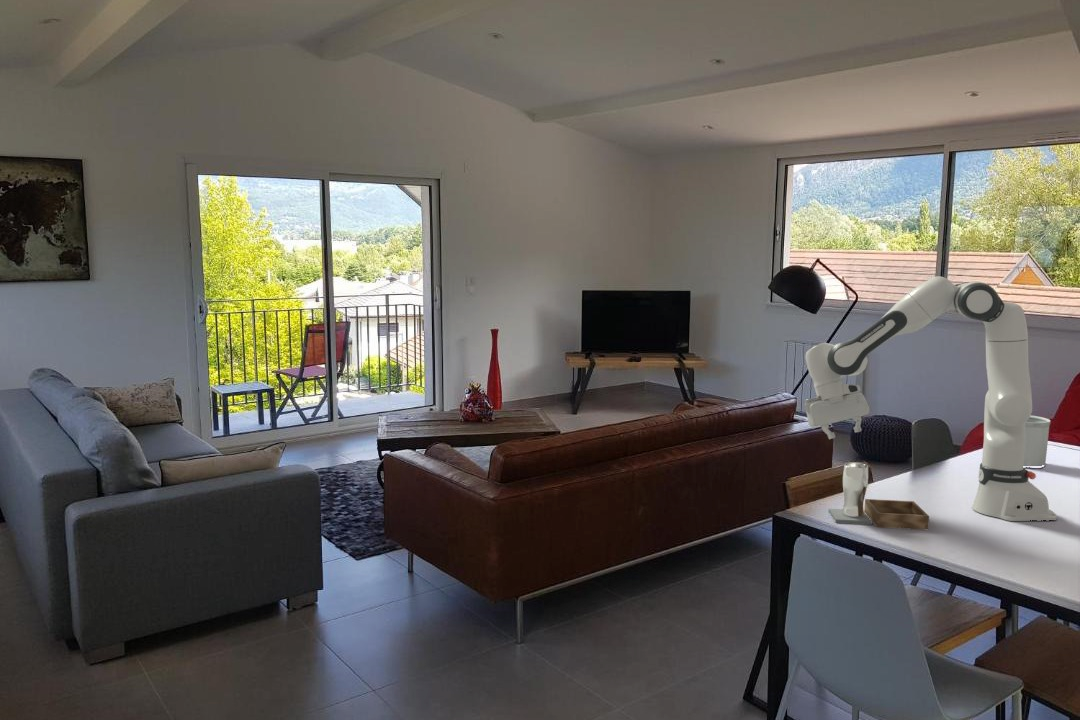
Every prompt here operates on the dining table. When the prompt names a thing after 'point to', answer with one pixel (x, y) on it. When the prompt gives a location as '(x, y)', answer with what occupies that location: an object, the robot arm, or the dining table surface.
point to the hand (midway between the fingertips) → (845, 435)
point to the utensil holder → (1036, 441)
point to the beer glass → (854, 488)
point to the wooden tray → (896, 514)
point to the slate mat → (842, 518)
